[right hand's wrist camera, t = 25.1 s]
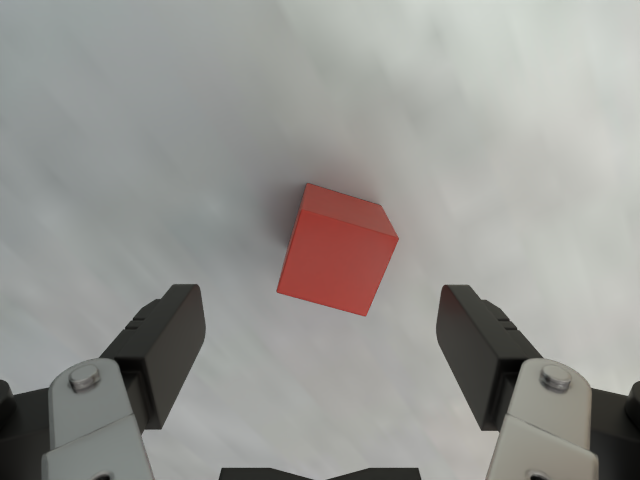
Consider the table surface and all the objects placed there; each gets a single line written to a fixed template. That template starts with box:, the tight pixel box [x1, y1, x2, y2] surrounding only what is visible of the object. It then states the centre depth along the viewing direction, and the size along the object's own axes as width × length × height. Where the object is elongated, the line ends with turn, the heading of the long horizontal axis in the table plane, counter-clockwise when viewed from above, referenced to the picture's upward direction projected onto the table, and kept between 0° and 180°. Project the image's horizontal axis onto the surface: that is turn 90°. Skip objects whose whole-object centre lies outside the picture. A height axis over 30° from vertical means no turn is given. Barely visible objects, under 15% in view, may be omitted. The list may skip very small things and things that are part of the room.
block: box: [277, 183, 399, 316], centre depth 17 cm, size 4×4×5 cm
